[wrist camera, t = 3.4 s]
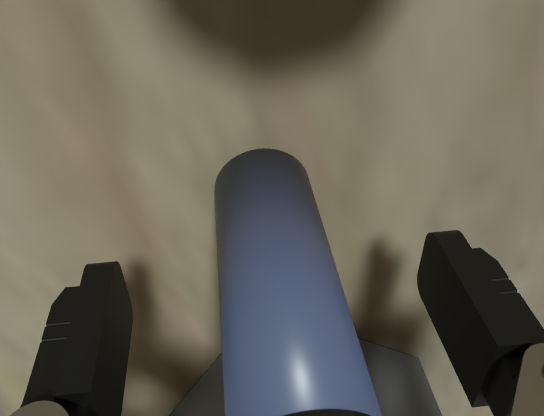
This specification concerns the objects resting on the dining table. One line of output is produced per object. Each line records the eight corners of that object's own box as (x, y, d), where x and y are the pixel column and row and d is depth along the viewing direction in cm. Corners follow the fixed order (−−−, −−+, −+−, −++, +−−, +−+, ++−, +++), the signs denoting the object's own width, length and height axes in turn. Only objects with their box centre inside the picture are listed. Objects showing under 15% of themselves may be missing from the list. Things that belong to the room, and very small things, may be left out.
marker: (330, 171, 16) (462, 526, 8) (277, 239, 17) (345, 593, 9) (244, 130, 14) (300, 504, 7) (195, 206, 16) (194, 585, 8)
